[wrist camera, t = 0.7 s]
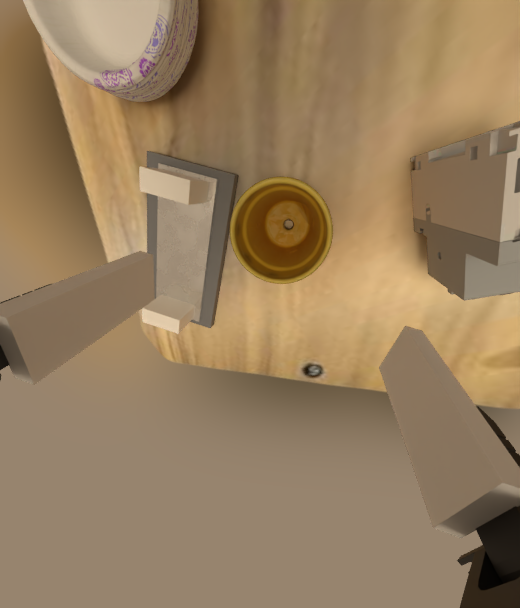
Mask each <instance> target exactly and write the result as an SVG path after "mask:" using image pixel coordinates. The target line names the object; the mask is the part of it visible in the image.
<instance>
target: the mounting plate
mask: <svg viewBox="0 0 520 608" xmlns="http://www.w3.org/2000/svg"><path fill="white" fill-rule="evenodd" d="M158 163H160V164H164V165H168V166H171V167H175V168H179V169H182V170H186V171H190V172H193V173H197V174H200V175H204V176H208V177H211V178H215V179H219V181H218V188H217V196H216V204H215V212H214V219H213V227H212V235H211V242H210V250H209V258H208V266H207V273H206V281H205V289H204V297H203V304H202V312H201V320H200V321H199V322H198V321H195V320H191V321H190V322H193V323H196V324H199V325H202V326H205V327H208V328H211V327H212V326H213V324H214V320H215V314H216V308H217V302H218V296H219V289H220V283H221V277H222V271H223V265H224V259H225V253H226V247H227V241H228V235H229V229H230V222H231V217H232V211H233V205H234V199H235V193H236V186H237V180H238V175H235V174H231V173H228V172H224V171H220V170H217V169H213V168H209V167H206V166H202V165H198V164H195V163H191V162H187V161H184V160H180V159H176V158H173V157H169V156H165V155H162V154H158V153H154V152H150V151H147V167H149V168H157V169H158ZM157 213H158V196H156V195H152V194H149V193H147V253H149V254H152V255H153V262H154V295H155V299H156V276H157Z"/></svg>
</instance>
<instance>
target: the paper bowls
mask: <svg viewBox="0 0 520 608" xmlns="http://www.w3.org/2000/svg"><path fill="white" fill-rule="evenodd" d="M23 2H24V4H25V6H26V9H27V11H28V13H29V15H30V18H31V20H32V21H33V23H34V25H35V27H36V28H37V30H38V32H39V33H40V35H41V36H42V38H43V40H44V41H45V43H46V44H47V45H48V47H49V48H50V49H51V51H52V52H53V53H54V55H55V56H56V57H57V58H58V59H59V60H60V61H61V62H62V63H63V65H64V66H65V67H67V68H68V69H69V70H70V71H71V72H72V73H73V74H75V75H76V76H77V77H79V78H80V79H82V80H84V81H85V82H87V83H89V84H91V85H93V86H95V87H98V88H99V89H102V90H104V91H107V92H109V93H111V94H113V95H115V96H117V97H120V98H123V99H126V100H130V101H134V102H147V101H151V100H155V99H157V98H159V97H161V96H163V95H164V94H165V93H167V92H168V91H169V90H170V89H171V88H172V87H173V86H174V85H175V84H176V83H177V82H178V80H179V78H181V74H182V73H183V72H184V70H185V68H186V66H187V64H188V62H189V60H190V56H191V53H192V50H193V46H194V43H195V37H196V33H197V24H198V13H199V11H198V0H23Z"/></svg>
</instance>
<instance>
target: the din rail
mask: <svg viewBox="0 0 520 608" xmlns="http://www.w3.org/2000/svg"><path fill="white" fill-rule="evenodd" d="M158 169H165V170H169V171H172V172H176V173H179V174H183V175H187V176H190V177H194V178H198V179H201V180H205V181H208V182H209V186H208V195H207V203H199V204H191V205H187V204H184V203H180V202H177V201H173V200H170V199H166V198H163V197H159V196H158V213H157V276H156V298H157V297H159V296H160V295H165V296H168V297H171V298H174V299H177V300H180V301H183V302H187V303H190V304H193V305H195V311H194V318H193V319H192V320H195V321H198V322H199V321H200V320H201V312H202V304H203V297H204V289H205V281H206V273H207V266H208V258H209V250H210V242H211V235H212V227H213V219H214V212H215V204H216V196H217V188H218V181H219V179H215V178H211V177H208V176H204V175H200V174H197V173H193V172H190V171H186V170H182V169H179V168H175V167H171V166H168V165H164V164H160V163H158Z"/></svg>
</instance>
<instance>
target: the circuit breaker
mask: <svg viewBox="0 0 520 608" xmlns="http://www.w3.org/2000/svg"><path fill="white" fill-rule="evenodd" d="M413 161H414V164H415V170H413V171H411V182H412V201H413V217H414V218H413V220H414V231H415V232H417V233H420V234H421V233H423V235H424V236H426V237H427V257H428V274H429V275H430V276H432V277H433V278H434V279H436V280H437V281H438V282H440V283H441V284H442V285H444V286H445V287H446V288H448V292H449V293H450V294H456V295H457V296H458V297H460V298H461V299H463V300H470V299H477V298H483V297H489V296H495V295H504V294H510V293H514V292H520V121H519V122H516V123H513V124H510V125H507V126H504V127H501V128H498V129H495V130H492V131H489V132H486V133H483V134H480V135H477V136H474V137H471V138H468V139H465V140H462V141H459V142H456V143H453V144H450V145H447V146H444V147H441V148H438V149H435V150H433V151H430V152H427V153H424V154H421V155H418V156H415V157H412V158H410V162H413Z"/></svg>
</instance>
